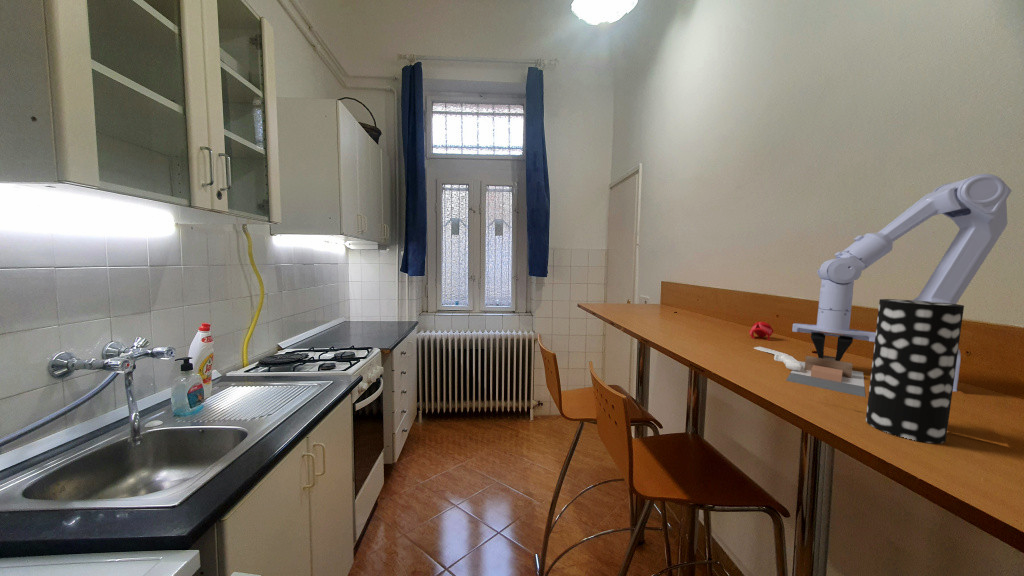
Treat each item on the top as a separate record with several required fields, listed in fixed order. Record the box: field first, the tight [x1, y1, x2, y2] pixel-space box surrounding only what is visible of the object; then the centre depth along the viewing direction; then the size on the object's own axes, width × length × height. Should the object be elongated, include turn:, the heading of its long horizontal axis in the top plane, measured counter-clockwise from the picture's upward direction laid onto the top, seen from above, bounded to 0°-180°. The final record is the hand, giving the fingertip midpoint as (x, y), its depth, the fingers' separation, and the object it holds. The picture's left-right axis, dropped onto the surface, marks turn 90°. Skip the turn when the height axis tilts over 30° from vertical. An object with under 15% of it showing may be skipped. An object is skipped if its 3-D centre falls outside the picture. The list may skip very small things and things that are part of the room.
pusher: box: [804, 355, 853, 378], centre depth 82 cm, size 8×6×3 cm
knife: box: [753, 346, 802, 371], centre depth 95 cm, size 30×2×8 cm
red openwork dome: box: [748, 321, 774, 341], centre depth 119 cm, size 8×6×6 cm
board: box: [785, 360, 866, 398], centre depth 79 cm, size 12×22×1 cm, turn 136°
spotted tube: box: [865, 298, 965, 444], centre depth 54 cm, size 8×8×20 cm
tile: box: [811, 365, 843, 382], centre depth 78 cm, size 5×5×2 cm
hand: (828, 366), depth 83 cm, fingers closed on pusher, 2 cm apart
